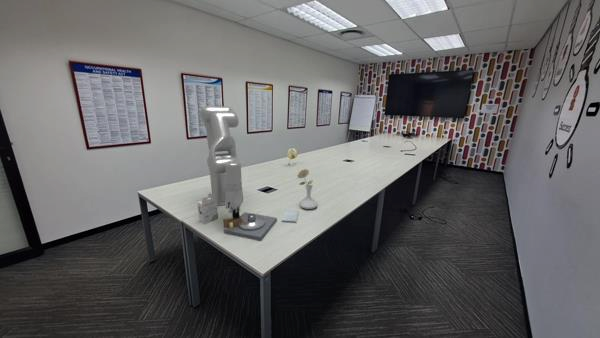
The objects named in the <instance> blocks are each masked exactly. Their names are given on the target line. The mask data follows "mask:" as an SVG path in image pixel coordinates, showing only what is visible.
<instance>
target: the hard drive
mask: <svg viewBox="0 0 600 338" xmlns="http://www.w3.org/2000/svg"><path fill="white" fill-rule="evenodd" d="M299 214H300V213H299V210H285V211H284V213H283V217H282V219H281V223H291V224H297V223H298V217H299Z"/></svg>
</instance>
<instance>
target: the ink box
mask: <svg viewBox="0 0 600 338" xmlns="http://www.w3.org/2000/svg"><path fill="white" fill-rule="evenodd" d="M197 209H198V217H199V222H200V223H202V224H207V223H210V222H212V221H215V220H217V219H218V218H219V216H218V215H219V213H218V206H217V202H216V196H215V194H214V195H211V196H208V195H207V196H205V197H202V198H201V200H199V201H197Z"/></svg>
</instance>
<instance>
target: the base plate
mask: <svg viewBox="0 0 600 338" xmlns="http://www.w3.org/2000/svg"><path fill="white" fill-rule="evenodd" d="M249 214H253V212H252V213H251V212H243V213H242V214H241V215H240V217H243V216H246V215H249ZM256 214H257V213H256ZM257 215H259V214H257ZM260 215H261V216H263V217H264V218H265V225H264V226H263V227H261V228H259V229H256V230H243V229H241V228H239V226H235V227H233V222H230V227H228V228H224V229H223V234H225V235H230V236H235V237H239V238H245V239H251V240H254V241H259V242H261V241H262V240H263V239H264V237H266V235H267V234H268V233H269V232H270V231H271V229H273V227H274V225H276V223H277V222H278V218H277V217H275V216H268V215H262V214H260Z"/></svg>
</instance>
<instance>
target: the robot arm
mask: <svg viewBox="0 0 600 338" xmlns="http://www.w3.org/2000/svg"><path fill="white" fill-rule="evenodd" d="M199 111H200V113H199V114H200V118H201V121H202V123H203V125H204V127H205V132H206V142H207V147H208V150H209V152H208V156H207V159H206V162H207V167H208V170H209V176H210V189H211V190H210V191H211V193H208V195H207V197H208V196H211V195H214V194H215V196H216V202H217V207H218V206H219V207H220V206H225V209H226V210H228V213H231V215H232V218H236V217H240V216H241V215H240V211H241V205H242V204H243V203H244V192H243V180H242V164H241V162H240V160H239V159H238V158H237V157H238V156H237V150H236V149H237V147H236V141H235V138H234V137H233V136H232V135H231V130H230V128H238V126H239V117H238V115H237V113H236V111H235V110H234V109H233V108H232V107H230V106H226V105H225V106H222V105H221V106H219V105H217V106H215V105H211V106H210V105H209V106H208V105H207V106H203V107H201V108H200V110H199ZM218 152H224V153H218Z"/></svg>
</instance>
